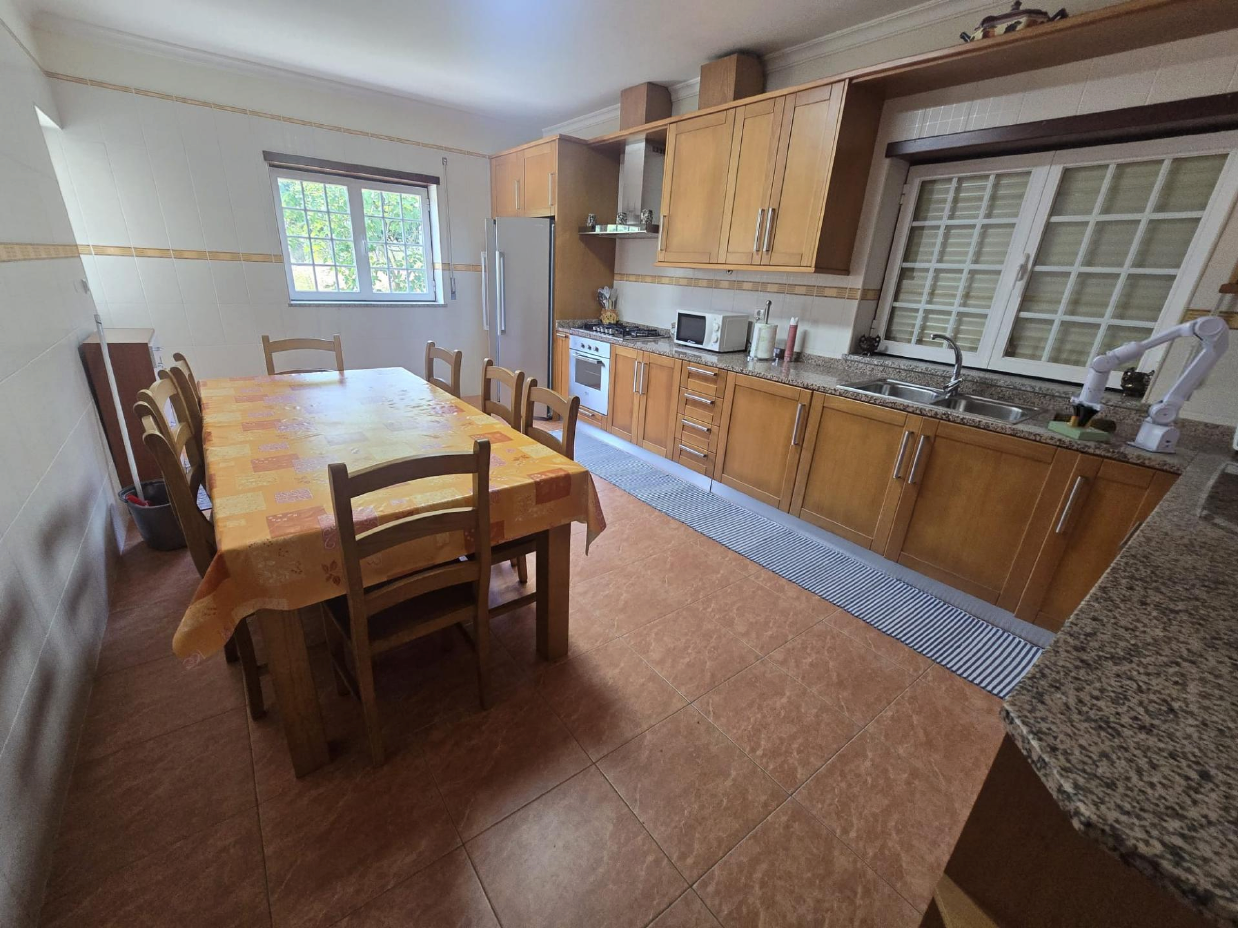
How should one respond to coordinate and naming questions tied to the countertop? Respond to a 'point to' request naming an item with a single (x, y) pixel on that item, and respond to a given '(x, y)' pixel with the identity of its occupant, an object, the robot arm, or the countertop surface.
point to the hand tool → (1096, 423)
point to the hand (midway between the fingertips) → (1079, 425)
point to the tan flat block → (1075, 422)
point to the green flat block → (1078, 431)
